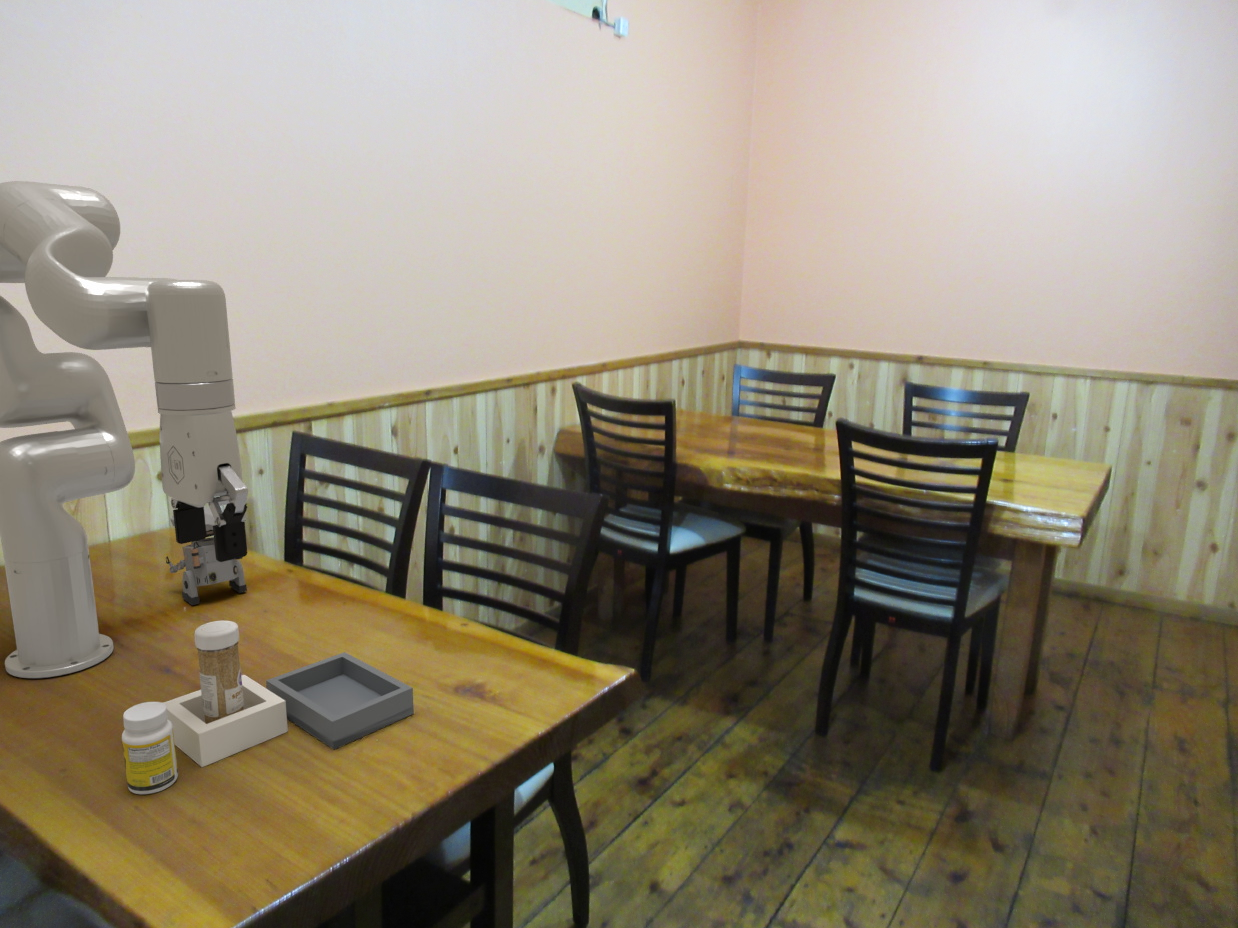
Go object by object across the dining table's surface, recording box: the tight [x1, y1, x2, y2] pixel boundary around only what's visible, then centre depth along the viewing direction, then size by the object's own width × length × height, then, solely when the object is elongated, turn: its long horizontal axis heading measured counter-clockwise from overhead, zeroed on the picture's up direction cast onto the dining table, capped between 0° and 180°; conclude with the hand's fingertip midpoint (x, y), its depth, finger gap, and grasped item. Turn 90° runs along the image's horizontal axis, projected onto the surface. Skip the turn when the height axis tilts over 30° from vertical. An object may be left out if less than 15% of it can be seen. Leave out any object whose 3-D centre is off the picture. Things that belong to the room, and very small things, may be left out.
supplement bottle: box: [121, 701, 179, 795], centre depth 89 cm, size 5×5×8 cm
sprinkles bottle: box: [194, 620, 244, 724], centre depth 98 cm, size 5×5×14 cm
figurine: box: [165, 506, 248, 607], centre depth 141 cm, size 9×12×15 cm
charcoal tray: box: [265, 651, 415, 750], centre depth 105 cm, size 15×11×4 cm
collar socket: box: [163, 674, 289, 768], centre depth 99 cm, size 10×10×4 cm
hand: (211, 549), depth 94 cm, fingers open, 9 cm apart
